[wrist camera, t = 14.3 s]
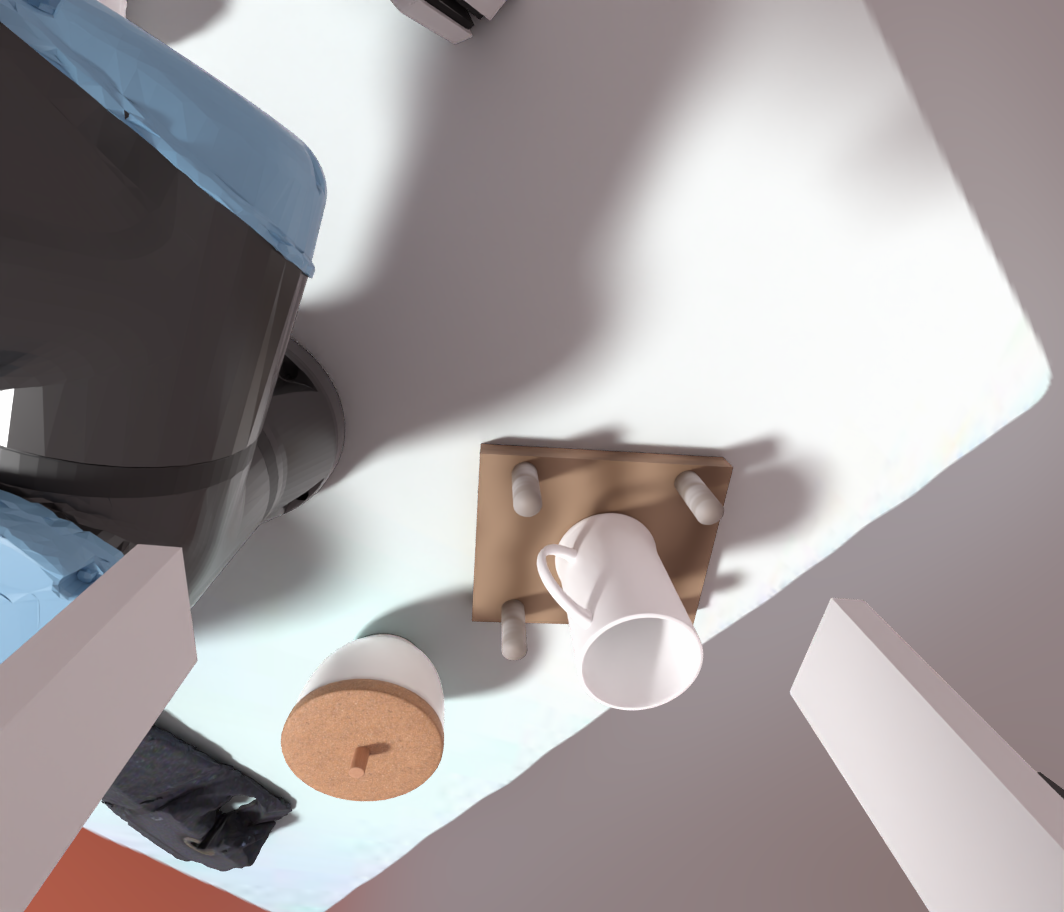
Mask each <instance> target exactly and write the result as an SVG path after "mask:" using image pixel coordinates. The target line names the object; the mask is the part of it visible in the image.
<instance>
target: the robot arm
mask: <svg viewBox="0 0 1064 912" xmlns="http://www.w3.org/2000/svg"><path fill="white" fill-rule="evenodd" d="M326 199H327V186H326V180H325V176H324V173H323V170H322V168H321V166H320V164H319V162H318V160H317V158H316V157H315V155H314V154H313V152H312V151H311V150H310V149H309V147H308V146H307V145H306V144H305V143H304V142H303V141H302V140H300V139H299V138H298V137H297V136H296V135H295V134H293V133H292V132H291V131H289V130H288V129H287V128H285V127H284V126H283V125H281V124H280V123H279V122H277V121H276V120H275V119H273V118H272V117H271V116H269V115H268V114H267V113H265V112H264V111H262V110H261V109H260V108H258V107H257V106H255V105H254V104H253V103H251V102H250V101H248V100H247V99H246V98H244V97H243V96H241V95H240V94H238V93H237V92H235V91H234V90H233V89H231V88H230V87H228V86H227V85H225V84H224V83H222V82H221V81H220V80H218V79H217V78H215V77H214V76H212V75H211V74H209V73H208V72H206V71H205V70H203V69H202V68H200V67H199V66H197V65H196V64H194V63H193V62H191V61H190V60H189V59H187V58H185V57H184V56H182V55H181V54H179V53H178V52H176V51H175V50H173V49H172V48H170V47H169V46H167V45H166V44H164V43H163V42H161V41H160V40H158V39H157V38H155V37H154V36H152V35H150V34H149V33H147V32H146V31H144V30H143V29H141V28H140V27H138V26H137V25H135V24H134V23H132V22H131V21H129V20H128V19H126V18H124V17H123V16H121V15H120V14H118V13H117V12H115V11H113V10H112V9H110V8H109V7H107V6H105V5H104V4H102V3H101V2H99V1H97V0H0V912H24V910H25V909H26V908H27V906H28V905H29V903H30V902H31V900H32V899H33V897H34V896H35V895H36V893H37V892H38V890H39V889H40V887H41V886H42V884H43V883H44V881H45V880H46V879H47V877H48V876H49V874H50V873H51V871H52V870H53V868H54V867H55V866H56V864H57V863H58V861H59V860H60V858H61V857H62V856H63V854H64V853H65V851H66V850H67V848H68V847H69V845H70V844H71V842H72V841H73V840H74V838H75V837H76V835H77V834H78V832H79V831H80V830H81V828H82V827H83V825H84V824H85V822H86V821H87V819H88V818H89V817H90V815H91V814H92V812H93V811H94V809H95V808H96V806H97V805H98V804H99V802H100V801H101V799H102V798H103V796H104V795H105V793H106V792H107V791H108V789H109V788H110V786H111V785H112V783H113V782H114V780H115V779H116V778H117V776H118V775H119V773H120V772H121V770H122V769H123V767H124V766H125V765H126V763H127V762H128V760H129V759H130V757H131V756H132V754H133V753H134V752H135V750H136V749H137V747H138V746H139V744H140V743H141V741H142V740H143V739H144V737H145V736H146V734H147V733H148V731H149V730H150V728H151V727H152V726H153V724H154V723H155V721H156V720H157V718H158V717H159V715H160V714H161V713H162V711H163V710H164V708H165V707H166V705H167V704H168V702H169V701H170V700H171V698H172V697H173V695H174V694H175V692H176V691H177V689H178V688H179V687H180V685H181V684H182V682H183V681H184V679H185V678H186V676H187V675H188V674H189V672H190V671H191V669H192V668H193V666H194V665H195V663H196V662H197V661H198V660H197V653H196V646H195V639H194V631H193V624H192V617H191V610H190V609H191V608H192V607H193V606H194V605H195V603H196V602H197V601H198V600H199V598H200V597H201V596H202V595H203V593H204V592H205V591H206V590H207V589H208V587H209V586H210V585H211V584H212V582H213V581H214V580H215V579H216V578H217V576H218V575H219V574H220V573H221V571H222V570H223V569H224V568H225V566H226V565H227V564H228V563H229V562H230V560H231V559H232V558H233V557H234V555H235V554H236V553H237V552H238V550H239V549H240V548H241V547H242V546H243V544H244V543H245V542H246V541H247V539H248V538H249V537H250V536H251V534H252V533H253V532H254V531H255V530H256V528H257V527H258V526H259V525H260V524H262V523H264V522H266V521H269V520H271V519H273V518H276V517H278V516H280V515H283V514H285V513H287V512H289V511H292V510H293V509H295V508H297V507H299V506H300V505H302V504H304V503H305V502H306V501H308V500H309V499H310V498H311V497H312V496H313V495H315V494H316V493H317V492H318V491H319V489H320V488H321V487H322V486H323V484H324V483H325V482H326V480H327V479H328V477H329V476H330V475H331V473H332V472H333V470H334V469H335V467H336V465H337V463H338V461H339V458H340V456H341V453H342V449H343V445H344V437H345V423H344V415H343V410H342V406H341V403H340V400H339V397H338V394H337V392H336V390H335V388H334V386H333V384H332V382H331V380H330V379H329V377H328V375H327V374H326V373H325V371H324V370H323V368H322V367H321V366H320V365H319V363H318V362H317V361H316V360H315V359H314V358H313V357H312V356H311V355H310V354H309V353H308V352H307V351H306V350H305V349H304V348H302V347H301V346H300V345H299V344H297V343H296V342H295V341H293V340H292V339H290V335H291V332H292V328H293V325H294V322H295V318H296V315H297V312H298V309H299V305H300V302H301V299H302V295H303V292H304V289H305V285H306V282H307V279H308V277H309V278H312V277H313V275H314V272H315V266H314V265H313V263H312V258H313V254H314V249H315V245H316V241H317V237H318V233H319V229H320V225H321V221H322V216H323V212H324V208H325V204H326ZM790 694H791V696H792V697H793V699H794V700H795V702H796V703H797V705H798V707H799V708H800V710H801V711H802V713H803V714H804V716H805V718H806V719H807V721H808V722H809V724H810V725H811V727H812V729H813V730H814V732H815V733H816V735H817V736H818V738H819V739H820V741H821V743H822V744H823V746H824V747H825V749H826V750H827V752H828V754H829V755H830V757H831V758H832V760H833V761H834V763H835V764H836V766H837V768H838V769H839V771H840V772H841V774H842V775H843V777H844V779H845V780H846V782H847V783H848V785H849V786H850V788H851V789H852V791H853V792H854V794H855V796H856V797H857V799H858V800H859V802H860V804H861V805H862V807H863V808H864V810H865V811H866V813H867V814H868V816H869V817H870V819H871V821H872V822H873V824H874V825H875V827H876V828H877V830H878V831H879V833H880V835H881V836H882V838H883V839H884V841H885V843H886V844H887V845H888V847H889V849H890V850H891V852H892V853H893V855H894V857H895V858H896V860H897V861H898V863H899V864H900V866H901V867H902V869H903V871H904V872H905V874H906V875H907V877H908V878H909V880H910V881H911V883H912V885H913V886H914V888H915V889H916V891H917V893H918V894H919V896H920V897H921V899H922V900H923V902H924V903H925V905H926V907H927V908H928V910H929V911H930V912H1064V790H1063V789H1062V788H1060V787H1059V786H1058V785H1057V784H1055V783H1054V782H1053V781H1051V780H1050V779H1048V778H1047V777H1046V776H1044V775H1043V774H1042V773H1040V772H1036V771H1035V770H1034V769H1033V768H1032V767H1031V766H1030V765H1029V764H1028V763H1027V762H1026V761H1024V759H1023V758H1022V757H1021V756H1020V755H1019V754H1018V753H1017V752H1015V750H1014V749H1013V748H1012V747H1011V746H1010V745H1008V743H1007V742H1006V741H1005V740H1004V739H1003V738H1002V737H1001V736H999V734H998V733H997V732H995V730H993V728H992V727H991V726H989V724H988V723H986V722H985V720H984V719H983V718H982V717H981V716H980V715H979V714H978V713H977V712H976V711H974V710H973V708H971V707H970V706H969V704H968V703H967V702H966V701H964V700H963V699H962V697H960V696H959V694H958V693H956V692H955V690H954V689H953V688H952V687H951V686H949V685H948V684H947V683H946V682H945V681H944V680H943V679H942V678H941V677H940V676H939V675H938V674H937V673H936V672H935V671H934V670H933V669H932V668H931V667H930V666H929V665H928V664H927V663H926V662H925V661H924V660H923V659H922V658H921V657H920V656H919V655H918V654H917V653H916V652H915V651H914V650H913V649H912V648H911V647H910V646H909V645H908V644H907V643H906V642H905V641H904V640H903V639H902V638H901V637H900V636H899V635H898V634H897V633H896V632H895V631H894V630H893V629H892V628H891V627H890V626H889V625H888V624H887V623H886V622H885V621H884V620H883V619H882V618H881V617H880V616H879V615H878V614H877V613H876V612H875V611H874V610H873V609H872V608H871V607H870V606H869V605H868V604H867V603H866V602H865V601H864V600H855V599H842V598H831V600H830V602H829V604H828V606H827V609H826V611H825V613H824V615H823V618H822V620H821V622H820V624H819V627H818V629H817V631H816V634H815V636H814V638H813V640H812V642H811V645H810V647H809V650H808V652H807V654H806V656H805V658H804V661H803V663H802V665H801V668H800V670H799V672H798V674H797V677H796V679H795V681H794V683H793V686H792V688H791V690H790Z"/></svg>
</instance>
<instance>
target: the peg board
mask: <svg viewBox="0 0 1064 912" xmlns="http://www.w3.org/2000/svg"><path fill="white" fill-rule="evenodd" d="M732 470H733V467H732V466H731V465H730V464H729V463H728V462H727V461H726V460H725V459H724V458H723V457H708V456H691V455H673V454H655V453H637V452H619V451H601V450H583V449H566V448H548V447H530V446H512V445H494V444H481V449H480V466H479V486H478V507H477V527H476V547H475V568H474V588H473V608H472V621H477V622H501V626H502V654H503V656H504V657H505V658H506V659H508V660H513V661H514V660H519V659H522V658H523V657H524V656H525V655H526V653H527V640H526V626H525V623H552V624H569V621H568V616H567V612H566V611H565V610H564V609H563V608H562V607H561V606H560V605H559V604H558V603H557V602H556V600H555V599H554V598H553V597H552V595H551V594H550V593H549V591H548V590H547V588H546V587H545V585H544V583H543V582H542V580H541V577H540V575H539V572H538V568H537V557H538V554H539V552H540V551H541V550H542V549H543V548H544V547H545V546H547V545H550V544H559V542H560V541H561V539H562V537H563V536H564V535H565V533H566V532H567V531H568V530H569V529H570V528H571V527H572V526H574V525H575V524H576V523H578V522H580V521H581V520H583V519H585V518H588V517H590V516H593V515H597V514H603V513H617V514H623V515H627V516H629V517H632V518H634V519H636V520H638V521H639V522H641V523H642V524H643V525H644V526H645V527H646V528H647V529H648V530H649V531H650V533H651V535H652V536H653V539H654V541H655V544H656V550H657V553H658V555H659V557H660V559H661V561H662V564H663V566H664V568H665V570H666V572H667V574H668V576H669V578H670V580H671V582H672V584H673V586H674V588H675V590H676V592H677V594H678V596H679V598H680V600H681V602H682V604H683V606H684V608H685V610H686V612H687V614H688V616H689V618H690V620H691V622H692V624H693V623H694V619H695V615H696V611H697V608H698V604H699V600H700V596H701V592H702V588H703V584H704V580H705V576H706V572H707V568H708V564H709V560H710V556H711V553H712V549H713V545H714V541H715V537H716V533H717V529H718V525H719V521H720V519H721V518H722V516H723V513H724V508H723V505H724V501H725V497H726V494H727V490H728V486H729V482H730V478H731V474H732ZM546 562H547V566H548V568H549V571H550V572H551V574H552V576H553V578H554V579H555V581H556V582H557V583H558V585H559V586H560V587H561V588H562V583H561V580H560V578H559V576H558V574H557V571H556V566H555V555H547V556H546ZM562 590H563V588H562Z"/></svg>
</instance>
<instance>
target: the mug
mask: <svg viewBox="0 0 1064 912" xmlns="http://www.w3.org/2000/svg"><path fill="white" fill-rule="evenodd" d="M547 555H555V566H556V571H557V574H558V576H559V578H560V580H561V583H562V588H563V590H562V588H561V587H560V586H559V585H558V583H557V582H556V581H555V579H554V578H553V576H552V574H551V572H550V571H549V568H548V566H547V562H546V556H547ZM537 568H538V572H539V575H540V577H541V580H542V582H543V583H544V585H545V587H546V588H547V590H548V591H549V593H550V594H551V595H552V597H553V598H554V599H555V600H556V602H557V603H558V604H559V605H560V606H561V607H562V608H563V609H564V610H565V611H566V612H567V616H568V621H569V627H570V632H571V638H572V644H573V649H574V655H575V660H576V666H577V671H578V676H579V679H580V682H581V684H582V686H583V688H584V689H585V691H586V692H587V693H588V694H589V695H590V696H591V697H592V698H594V699H595V700H596V701H598V702H600V703H602V704H604V705H606V706H609V707H612V708H616V709H622V710H642V709H648V708H652V707H656V706H659V705H662V704H664V703H667V702H669V701H670V700H672V699H674V698H676V697H677V696H679V695H680V694H681V693H683V692H684V691H685V690H686V689H687V688H688V687H689V686H690V685H691V684H692V683H693V681H694V680H695V679H696V677H697V675H698V673H699V671H700V669H701V666H702V662H703V648H702V644H701V641H700V639H699V636H698V634H697V632H696V630H695V628H694V626H693V624H692V622H691V620H690V618H689V616H688V614H687V612H686V610H685V608H684V606H683V604H682V602H681V600H680V598H679V596H678V594H677V592H676V590H675V588H674V586H673V584H672V582H671V580H670V578H669V576H668V574H667V572H666V570H665V568H664V566H663V564H662V561H661V559H660V557H659V555H658V553H657V550H656V544H655V541H654V539H653V536H652V535H651V533H650V531H649V530H648V529H647V528H646V527H645V526H644V525H643V524H642V523H641V522H639V521H638V520H636V519H634V518H632V517H629V516H627V515H623V514H617V513H603V514H597V515H593V516H590V517H588V518H585V519H583V520H581V521H580V522H578V523H576V524H575V525H574V526H572V527H571V528H570V529H569V530H568V531H567V532H566V533H565V535H564V536H563V537H562V539H561V541H560V542H559V544H550V545H547V546H545V547H544V548H543V549H542V550H541V551H540V552H539V554H538V557H537Z"/></svg>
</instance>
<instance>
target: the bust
mask: <svg viewBox="0 0 1064 912" xmlns="http://www.w3.org/2000/svg"><path fill="white" fill-rule="evenodd" d="M97 1H99V2H101V3H102V4H104V5H105V6H107V7H109V8H110V9H112V10H113V11H115V12H117V13H118V14H120V15H121V16H123V17H124V18H126V16H125V14H126V7H127V1H126V0H97Z"/></svg>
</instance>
